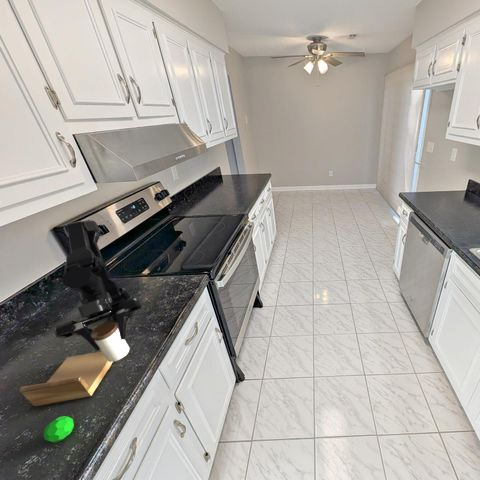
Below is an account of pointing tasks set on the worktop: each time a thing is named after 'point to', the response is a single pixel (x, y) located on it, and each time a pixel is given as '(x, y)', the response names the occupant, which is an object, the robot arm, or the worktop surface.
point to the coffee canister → (110, 341)
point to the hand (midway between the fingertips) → (111, 344)
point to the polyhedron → (58, 429)
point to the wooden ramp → (70, 380)
